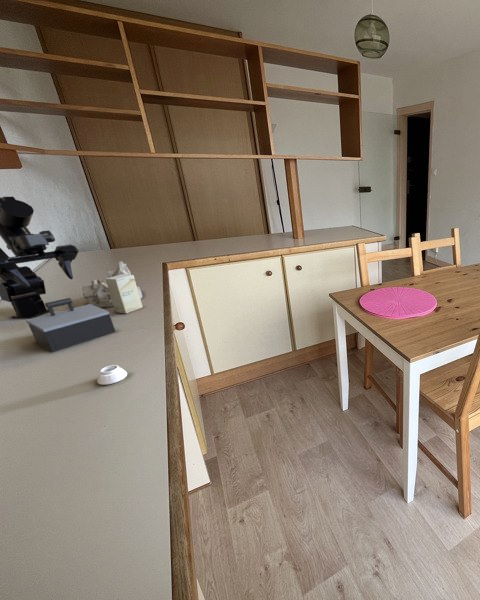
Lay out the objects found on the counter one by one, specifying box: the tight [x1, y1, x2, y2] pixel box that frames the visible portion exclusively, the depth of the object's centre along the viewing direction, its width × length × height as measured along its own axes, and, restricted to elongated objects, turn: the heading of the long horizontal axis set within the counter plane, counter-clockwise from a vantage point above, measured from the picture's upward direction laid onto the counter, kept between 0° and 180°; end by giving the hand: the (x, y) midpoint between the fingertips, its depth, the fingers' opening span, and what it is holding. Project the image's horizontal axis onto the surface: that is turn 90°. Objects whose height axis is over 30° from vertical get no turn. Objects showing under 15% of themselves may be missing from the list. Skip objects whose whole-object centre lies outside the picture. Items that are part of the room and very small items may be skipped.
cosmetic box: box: [105, 274, 144, 314], centre depth 106 cm, size 6×4×12 cm
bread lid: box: [25, 297, 110, 332], centre depth 87 cm, size 11×14×5 cm
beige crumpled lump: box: [81, 261, 143, 309], centre depth 114 cm, size 16×16×15 cm
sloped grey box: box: [28, 313, 116, 353], centre depth 89 cm, size 11×14×6 cm
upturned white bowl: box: [96, 364, 128, 386], centre depth 71 cm, size 5×3×5 cm
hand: (51, 282), depth 91 cm, fingers open, 9 cm apart
